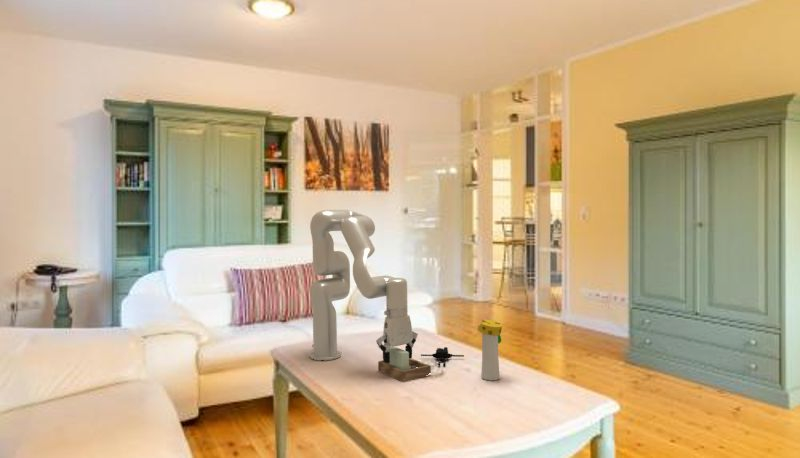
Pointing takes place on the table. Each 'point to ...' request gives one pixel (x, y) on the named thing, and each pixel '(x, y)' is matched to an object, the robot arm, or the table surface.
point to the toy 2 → (490, 348)
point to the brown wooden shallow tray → (408, 374)
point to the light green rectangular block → (399, 358)
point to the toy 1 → (442, 355)
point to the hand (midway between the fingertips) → (397, 359)
